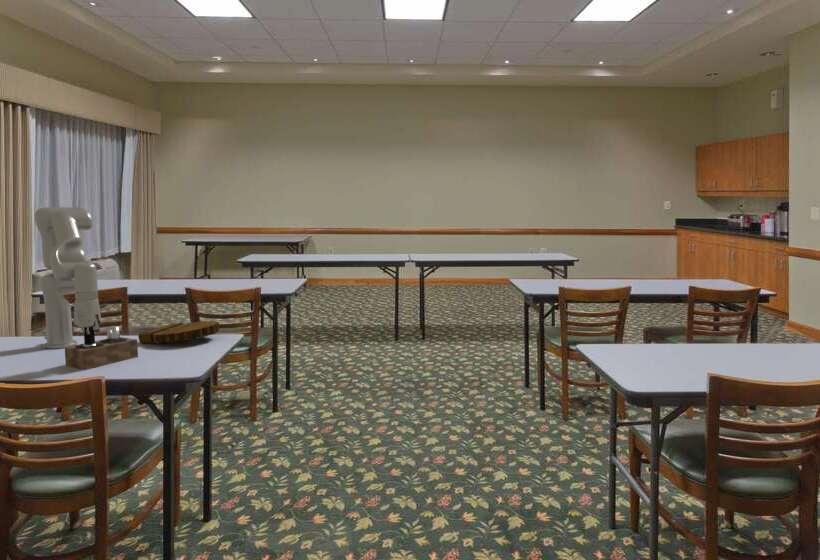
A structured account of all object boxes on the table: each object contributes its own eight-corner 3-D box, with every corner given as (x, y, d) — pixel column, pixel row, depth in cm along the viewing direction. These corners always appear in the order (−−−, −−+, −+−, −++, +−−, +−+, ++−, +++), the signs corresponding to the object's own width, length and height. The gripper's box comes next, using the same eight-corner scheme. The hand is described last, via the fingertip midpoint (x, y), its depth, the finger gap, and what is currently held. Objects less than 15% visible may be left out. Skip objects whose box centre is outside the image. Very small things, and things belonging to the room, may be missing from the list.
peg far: (105, 346, 230) (104, 327, 229) (115, 344, 234) (114, 325, 233) (112, 347, 228) (111, 328, 227) (122, 345, 232) (121, 326, 231)
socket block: (65, 365, 220) (64, 346, 219) (118, 353, 240) (117, 335, 239) (85, 369, 215) (84, 349, 214) (138, 356, 234) (137, 338, 233)
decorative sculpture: (135, 350, 254) (197, 345, 247) (133, 335, 253) (195, 330, 247) (176, 335, 283) (232, 331, 276) (174, 322, 282) (230, 317, 276)
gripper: (64, 296, 220) (68, 343, 222) (90, 298, 213) (93, 348, 215) (83, 293, 226) (86, 340, 228) (108, 296, 219) (111, 344, 222)
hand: (89, 343), depth 222 cm, fingers closed
